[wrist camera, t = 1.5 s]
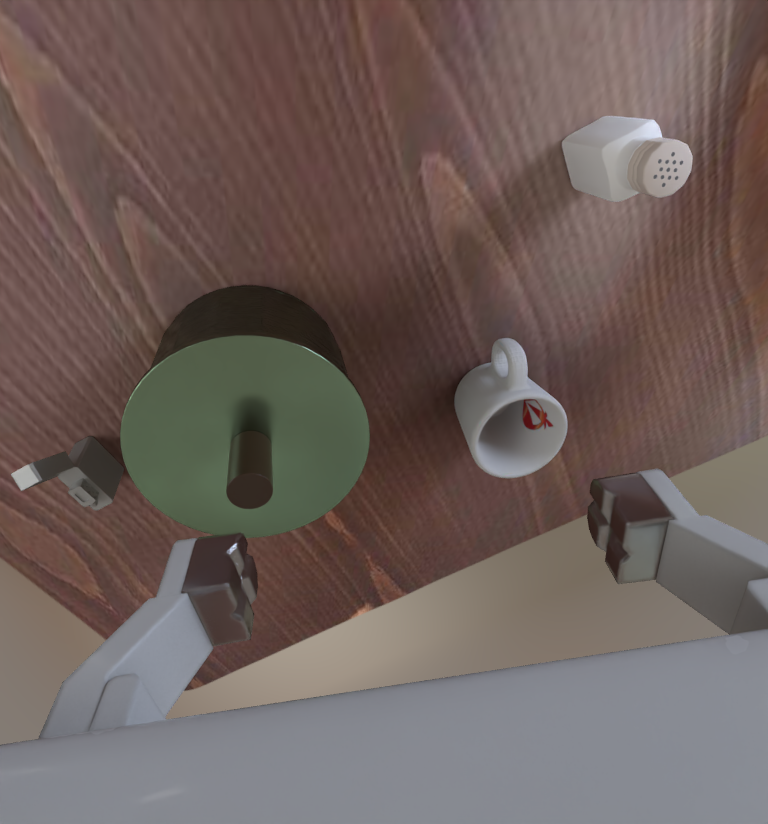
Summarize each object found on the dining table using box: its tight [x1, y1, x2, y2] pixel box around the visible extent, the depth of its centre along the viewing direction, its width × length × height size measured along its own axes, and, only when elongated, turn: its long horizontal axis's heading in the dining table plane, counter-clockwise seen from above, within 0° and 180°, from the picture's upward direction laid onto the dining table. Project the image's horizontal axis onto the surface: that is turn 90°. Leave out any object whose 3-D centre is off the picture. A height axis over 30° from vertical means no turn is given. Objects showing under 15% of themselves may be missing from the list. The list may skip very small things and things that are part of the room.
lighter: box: [11, 436, 124, 510], centre depth 42 cm, size 7×2×8 cm, turn 26°
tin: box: [151, 285, 348, 376], centre depth 40 cm, size 14×14×10 cm
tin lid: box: [120, 332, 370, 538], centre depth 34 cm, size 15×15×6 cm
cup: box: [454, 338, 567, 478], centre depth 46 cm, size 11×8×8 cm
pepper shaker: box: [562, 116, 693, 202], centre depth 37 cm, size 4×4×10 cm
